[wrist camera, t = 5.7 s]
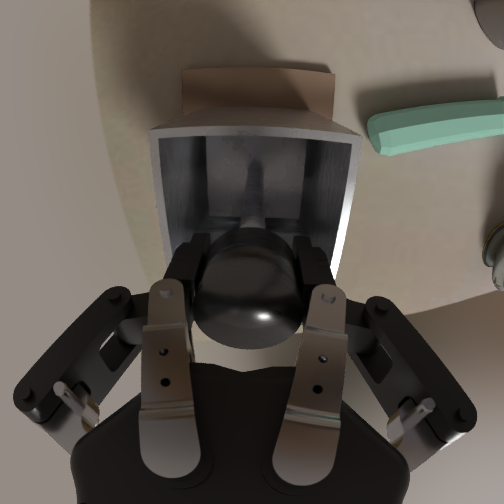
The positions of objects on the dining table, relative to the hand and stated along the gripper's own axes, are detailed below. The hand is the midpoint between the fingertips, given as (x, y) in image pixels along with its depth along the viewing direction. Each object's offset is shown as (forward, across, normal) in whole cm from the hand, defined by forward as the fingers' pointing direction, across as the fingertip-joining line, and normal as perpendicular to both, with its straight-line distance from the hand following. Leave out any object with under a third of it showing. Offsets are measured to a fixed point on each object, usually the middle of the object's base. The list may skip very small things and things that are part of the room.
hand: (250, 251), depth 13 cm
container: (+20, -24, -8) cm, 32 cm away
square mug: (+19, 0, +1) cm, 19 cm away
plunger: (+13, 0, 0) cm, 13 cm away
